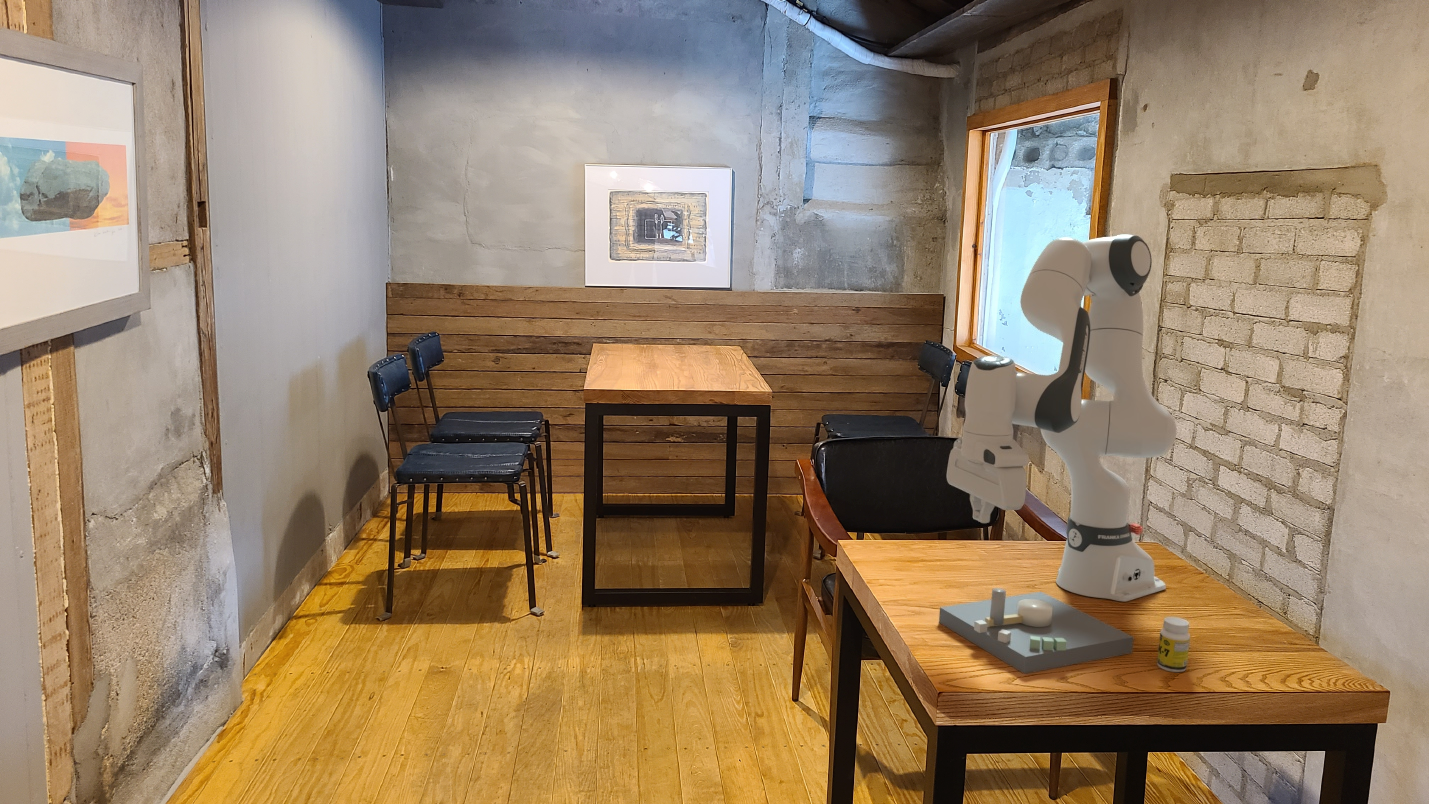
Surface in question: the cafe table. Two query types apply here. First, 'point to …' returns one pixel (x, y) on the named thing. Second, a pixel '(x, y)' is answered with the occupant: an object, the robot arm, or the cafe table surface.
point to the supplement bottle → (1174, 645)
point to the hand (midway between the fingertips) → (980, 520)
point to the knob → (1019, 611)
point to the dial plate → (1037, 634)
